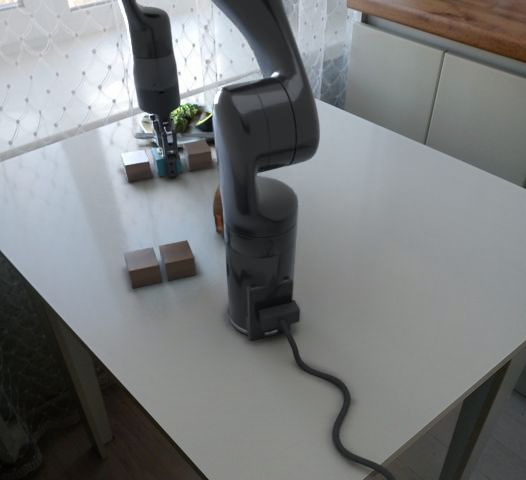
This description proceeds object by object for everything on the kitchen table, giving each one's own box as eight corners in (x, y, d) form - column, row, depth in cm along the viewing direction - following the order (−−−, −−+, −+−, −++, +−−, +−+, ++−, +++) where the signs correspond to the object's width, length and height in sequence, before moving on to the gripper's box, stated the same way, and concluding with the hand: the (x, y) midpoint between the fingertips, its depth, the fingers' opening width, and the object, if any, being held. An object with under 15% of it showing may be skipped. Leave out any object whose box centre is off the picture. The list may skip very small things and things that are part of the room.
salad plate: (148, 163, 109) (145, 140, 106) (121, 124, 120) (117, 103, 116) (237, 141, 115) (236, 119, 112) (204, 106, 126) (202, 85, 122)
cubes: (212, 167, 108) (211, 150, 106) (128, 182, 105) (124, 165, 102) (206, 156, 111) (205, 139, 109) (124, 170, 108) (120, 153, 105)
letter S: (182, 172, 107) (180, 154, 104) (158, 176, 106) (156, 158, 103) (176, 160, 110) (174, 143, 107) (153, 164, 109) (151, 147, 106)
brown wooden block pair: (196, 274, 87) (194, 257, 85) (132, 288, 85) (128, 271, 82) (189, 257, 90) (187, 239, 87) (127, 270, 88) (123, 252, 85)
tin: (231, 246, 92) (228, 203, 86) (212, 244, 92) (209, 200, 86) (250, 196, 102) (249, 154, 95) (233, 194, 102) (232, 152, 96)
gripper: (127, 65, 99) (142, 152, 111) (142, 99, 90) (156, 190, 102) (168, 60, 100) (178, 146, 113) (187, 93, 92) (196, 183, 104)
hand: (168, 167), depth 108 cm, fingers open, 6 cm apart
